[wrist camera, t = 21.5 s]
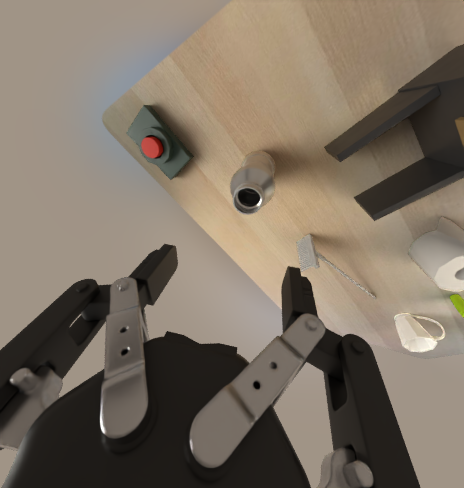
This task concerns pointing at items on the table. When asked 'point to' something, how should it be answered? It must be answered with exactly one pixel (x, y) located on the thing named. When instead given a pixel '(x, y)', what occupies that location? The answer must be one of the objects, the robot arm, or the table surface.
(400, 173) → the dark box with flaps
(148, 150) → the stop button
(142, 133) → the control pad
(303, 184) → the table surface
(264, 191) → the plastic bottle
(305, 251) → the brush
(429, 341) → the cup
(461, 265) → the toilet tissue
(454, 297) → the mushroom
